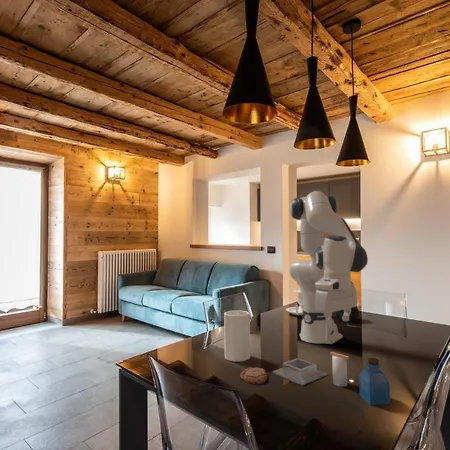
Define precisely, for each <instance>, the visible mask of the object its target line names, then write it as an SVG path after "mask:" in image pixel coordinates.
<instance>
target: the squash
mask: <svg viewBox="0 0 450 450" xmlns="http://www.w3.org/2000/svg"><path fill="white" fill-rule="evenodd" d="M333 314H334V316H335V318H336V319H337V320H338V321H341V320H342V319H343V318H342V316H343V315H344V310H339V311H335V312H333ZM359 314H360V311H359V307H358V305H357V306H356V307H352V308H351V312H350V315H349V322H355V321H356V320H357V319H358V316H359ZM342 322H344V321H343V320H342Z"/></svg>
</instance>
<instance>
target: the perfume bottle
mask: <svg viewBox="0 0 450 450" xmlns="http://www.w3.org/2000/svg"><path fill="white" fill-rule="evenodd" d="M379 361H380V360H379V359H378V358H374V357H368V358H367V362H366V363H367V368H366V367H365V368H363V369H362V370H361V372H360V374H359V376H358V378H359V379H358V381H359V382H358V384H359V396H360V397H361V398H362V399H363V400H364V401H365V402H366V403H367V404H368V405H369V406H377V405H378V406H380V405H381V406H382V405H390V404H391V392H390V381H389V380H388V378H387V377H386V375H385V373H384V372H383V371H382V370H380V363H379Z"/></svg>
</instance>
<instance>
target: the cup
mask: <svg viewBox="0 0 450 450" xmlns="http://www.w3.org/2000/svg"><path fill="white" fill-rule="evenodd" d="M223 314H224V316H223V319H224V320H223V323H224V325H223V326H224V327H223V328H224V329H223V333H224V335H223V336H224V337H223V338H224V340H223V341H224V345H223V346H224V347H223V348H224V358H225V360H226V361H230V362H234V363H235V362H237V363H238V362H246V361H247V360H250V359H251V324H250V323H251V317H250V316H251V314H250V313H249V311H247V310H240V309H239V310H228V311H225V312H223Z"/></svg>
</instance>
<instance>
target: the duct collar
mask: <svg viewBox="0 0 450 450" xmlns="http://www.w3.org/2000/svg"><path fill="white" fill-rule="evenodd" d="M272 374H274V375H276V376H279V377H281V378H283V379H286V380H287V381H291V382H293V383H295V384H298V385H301V386H303V387H304V386H306V385H307V384H310V383H313V382H315V381H317V380H319V379H322V378H324V377H326V376H328V372H325V371H322V370H319V369H317V364H316V363H312V362H310V361H307V360H304V359H301V358H295V359H291V360H289V361H285V362H283V363H282V367H281V368H278V369H275V370H272Z"/></svg>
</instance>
